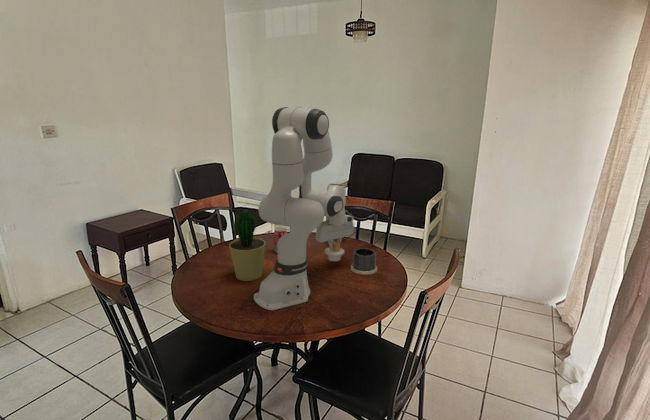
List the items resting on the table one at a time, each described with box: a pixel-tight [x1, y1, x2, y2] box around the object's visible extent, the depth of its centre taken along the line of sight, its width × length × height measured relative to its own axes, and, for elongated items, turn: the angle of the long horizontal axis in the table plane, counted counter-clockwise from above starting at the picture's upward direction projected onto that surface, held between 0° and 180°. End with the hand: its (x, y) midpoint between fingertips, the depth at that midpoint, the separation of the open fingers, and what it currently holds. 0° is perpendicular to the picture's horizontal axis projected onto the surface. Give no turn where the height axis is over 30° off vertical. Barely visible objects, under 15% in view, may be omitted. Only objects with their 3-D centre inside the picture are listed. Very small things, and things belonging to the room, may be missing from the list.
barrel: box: [350, 247, 378, 276], centre depth 167 cm, size 12×12×8 cm
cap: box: [324, 240, 345, 262], centre depth 170 cm, size 9×9×8 cm
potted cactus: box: [228, 210, 267, 282], centre depth 157 cm, size 15×15×30 cm
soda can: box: [273, 227, 288, 253], centre depth 187 cm, size 7×7×12 cm
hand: (334, 247), depth 170 cm, fingers closed on cap
